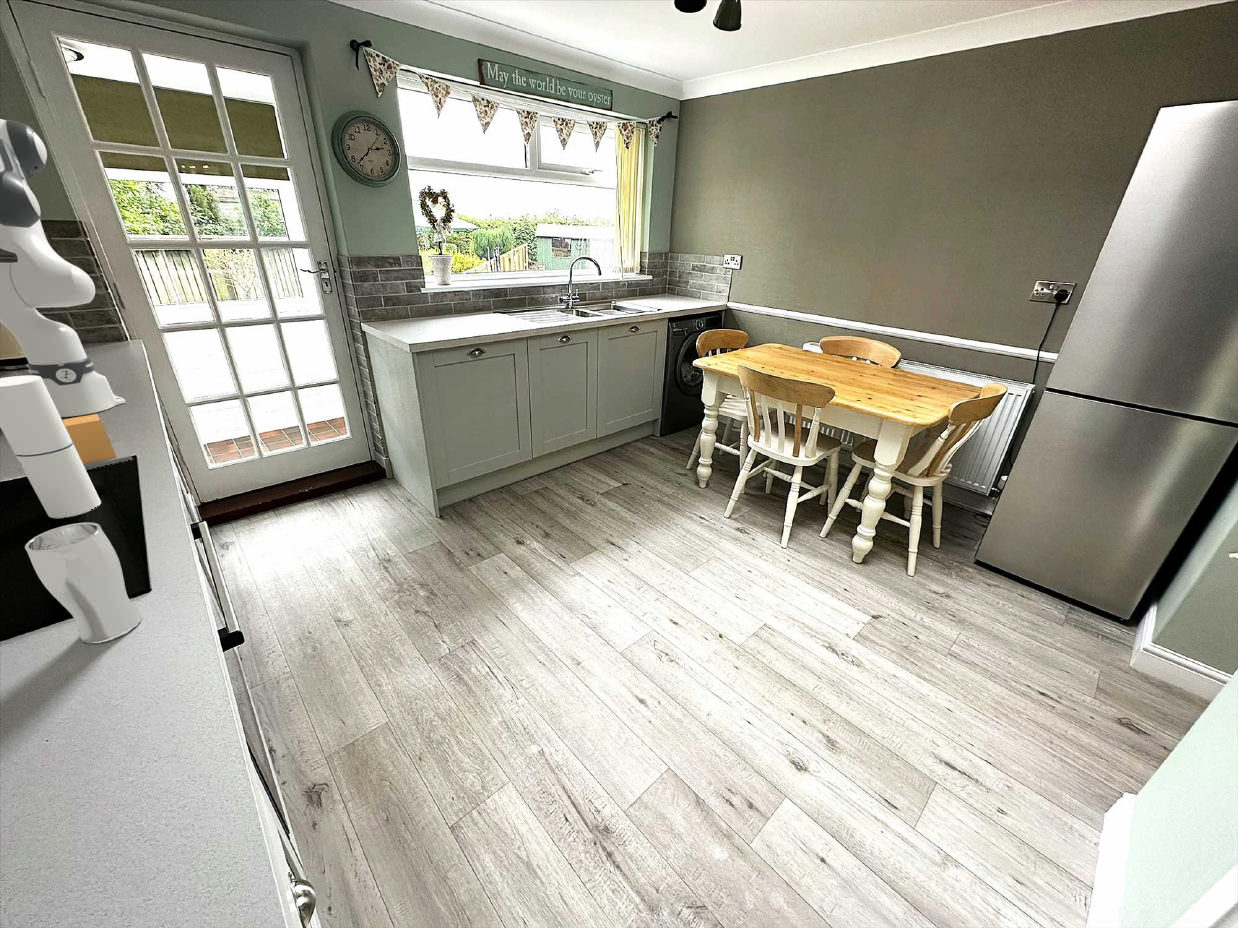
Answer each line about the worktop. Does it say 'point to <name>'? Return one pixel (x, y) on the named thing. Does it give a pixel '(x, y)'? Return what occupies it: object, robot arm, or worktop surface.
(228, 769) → the worktop surface
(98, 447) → the orange rectangular block
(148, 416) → the worktop surface
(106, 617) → the beer glass
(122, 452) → the plate
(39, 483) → the cylindrical container
